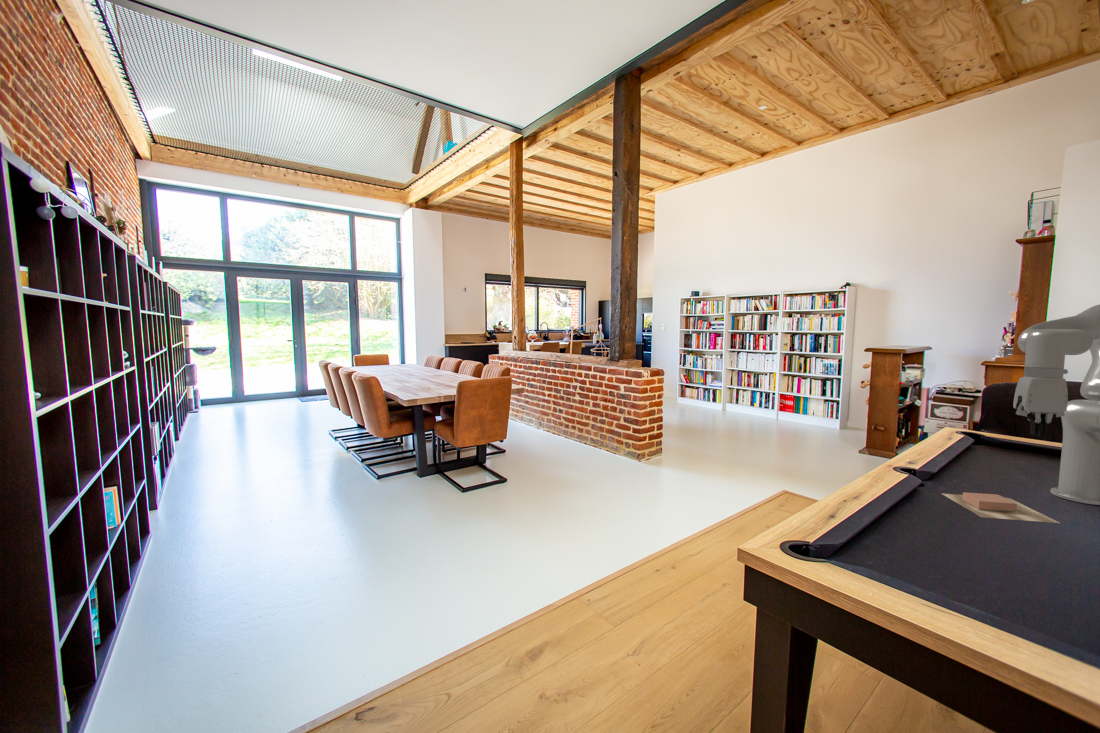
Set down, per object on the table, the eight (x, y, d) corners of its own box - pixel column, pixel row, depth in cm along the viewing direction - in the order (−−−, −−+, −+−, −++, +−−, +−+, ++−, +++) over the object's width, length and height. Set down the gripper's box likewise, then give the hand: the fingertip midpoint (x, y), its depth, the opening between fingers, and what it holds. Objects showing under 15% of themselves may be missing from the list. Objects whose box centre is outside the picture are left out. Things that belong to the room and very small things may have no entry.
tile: (998, 494, 132) (963, 492, 134) (1016, 503, 125) (979, 501, 127) (997, 503, 132) (962, 500, 134) (1016, 512, 125) (978, 509, 128)
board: (1008, 500, 136) (1008, 497, 136) (1060, 526, 119) (1060, 523, 119) (940, 496, 140) (941, 493, 140) (981, 520, 123) (981, 517, 123)
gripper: (1063, 372, 126) (1057, 433, 128) (1001, 371, 130) (997, 431, 131) (1088, 374, 119) (1082, 440, 121) (1022, 374, 122) (1017, 438, 124)
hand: (1038, 435), depth 126 cm, fingers closed
